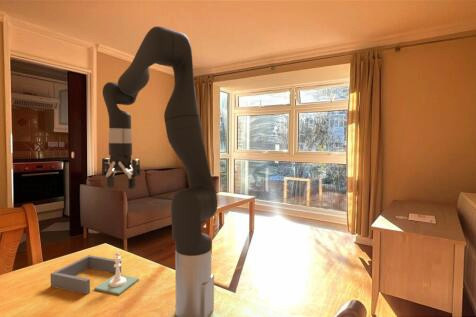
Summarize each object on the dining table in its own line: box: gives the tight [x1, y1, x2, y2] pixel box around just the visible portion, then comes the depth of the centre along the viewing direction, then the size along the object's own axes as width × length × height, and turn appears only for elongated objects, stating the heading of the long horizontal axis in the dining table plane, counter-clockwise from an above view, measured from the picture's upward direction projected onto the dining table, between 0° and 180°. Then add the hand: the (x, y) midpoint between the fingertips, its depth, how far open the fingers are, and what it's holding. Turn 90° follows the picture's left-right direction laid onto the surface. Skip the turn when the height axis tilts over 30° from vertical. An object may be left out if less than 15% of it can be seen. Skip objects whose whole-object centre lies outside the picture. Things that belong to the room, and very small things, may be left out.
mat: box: [94, 274, 140, 296], centre depth 85 cm, size 9×9×1 cm
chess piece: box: [109, 251, 126, 287], centre depth 85 cm, size 5×5×10 cm
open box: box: [50, 254, 122, 295], centre depth 89 cm, size 14×14×4 cm
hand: (121, 188), depth 96 cm, fingers open, 8 cm apart
